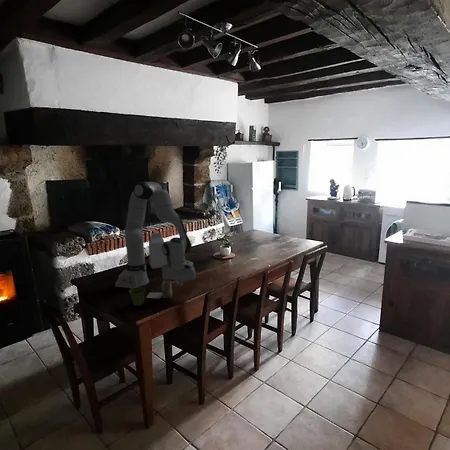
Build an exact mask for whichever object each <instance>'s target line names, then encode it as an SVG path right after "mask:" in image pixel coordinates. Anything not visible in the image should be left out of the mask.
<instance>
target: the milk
mask: <svg viewBox="0 0 450 450" xmlns="http://www.w3.org/2000/svg"><path fill="white" fill-rule="evenodd" d="M164 242H165V240H164V238H163V236H162V234H161V232H153V233H151V235H150V238H149V240H148V251H149V254H148V255H149V256H148V257H149V266H150V267H151V269H152V270H153V269H160V268H162V266H163V265H169V263H168V259H167V257H168V256H166V255H164V254H163V252H162V245H163V244H164Z"/></svg>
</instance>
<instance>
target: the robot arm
mask: <svg viewBox="0 0 450 450" xmlns="http://www.w3.org/2000/svg"><path fill="white" fill-rule="evenodd" d="M130 194H131V195H130V198H129V201H128V202H129V203H128V207H127V208H128V210H127V218H126V221H125V222H126V224H125V229H124V230H125V231H124V238H125V245H126V247H125V248H126V255H127V256H126V258H127V263H126V264H125V266H124V270H122V272H121V273H120V274H119V275H118V278H117V280H116V281H115V283H114V287H116V288H125V289H132V288H135V287H143V286H145V285H147V284H149V283H150V280H149V277H148V274H147V262H146V259H145V246H144V235H143V229H144V228H143V227H144V224H145V219H146V211H147V204H148V203H147V202H148V201H149V200H151V201H152V202H153V207H154V212H155V216H156V218H158V220H160V221H162V222H165V223H168V224H169V223H170V224H172V225H174V226H175V228H176V231H177V234H178V236H179V237H172V238H170V240H166V241H164V244H163V245H162V252H163V254H164V255H166V256H167V257H168V258H170V264H169V263H168V265H163V266H162V267H161V272H162V273H161V275H162V277H161V279H162V280H163V281H172V280H173V281H174V282H175V283H176V286H177V287H182V286H183V283H184V280H195V278H196V276H197V273H196V269H195V267H194V262H193V261H190V260H188V259H187V260H186V257H185V255H186V254H189V253H190V251H191V250H192V243H191V240H190V238H189V236H188V234H187V231H186V228H185V226H184V223H183V220H182V218H181V215H180V214H179V213H177V212H176V211H175V209H174V207H173V203H172V202H173V201H172V200H171V199H172V198H171V196H170V192H169V191H168V190H166V189H165V186H164V185H163V184H162V183H159V182H158V181H157V182H155V181H139V182H137V183H136V184H135V185H134V188H133V191H132V192H131V193H130ZM179 280H180V281H179Z"/></svg>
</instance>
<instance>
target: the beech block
mask: <svg viewBox="0 0 450 450" xmlns="http://www.w3.org/2000/svg"><path fill="white" fill-rule="evenodd" d="M161 293H162V298H163V299H165V298H167V299H169V298H170V299H171V298H172V296H173V285H172V280H163V281H162V282H161Z"/></svg>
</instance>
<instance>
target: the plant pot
mask: <svg viewBox="0 0 450 450" xmlns="http://www.w3.org/2000/svg"><path fill="white" fill-rule="evenodd" d="M128 293H129V294H130V297H131V298H130V299H131V301H132V304H133V306H135V307H139V306H143V305H144V303H145V293H146V288H145V287H143V286H139V287H135V288H129V290H128Z"/></svg>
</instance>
